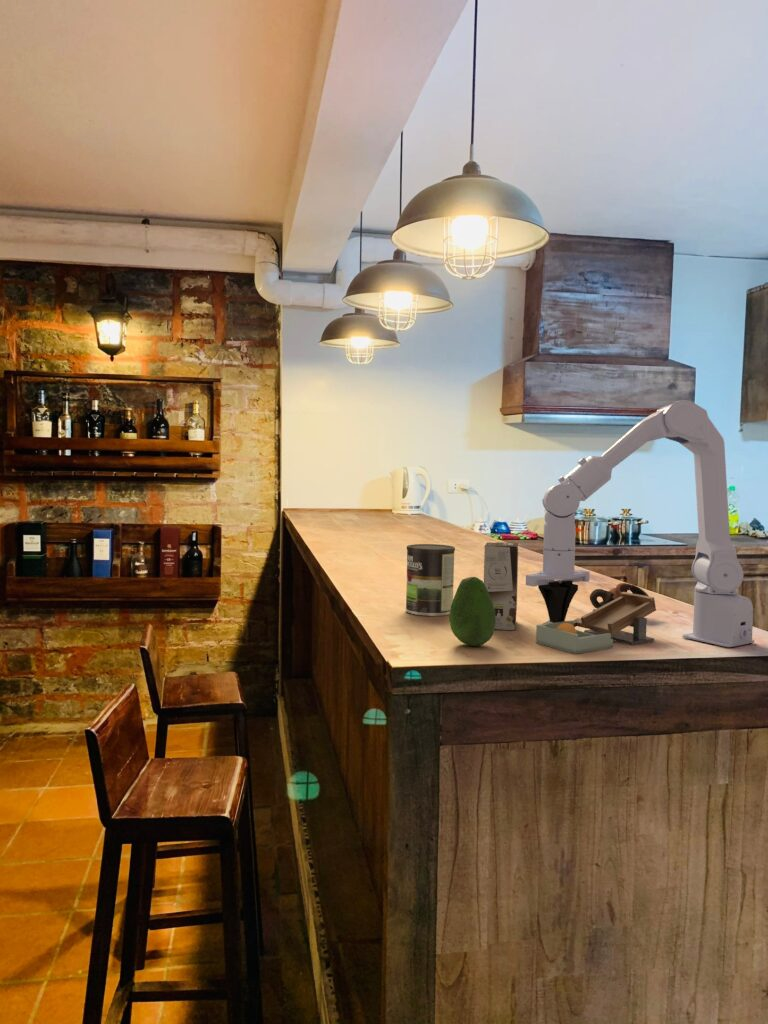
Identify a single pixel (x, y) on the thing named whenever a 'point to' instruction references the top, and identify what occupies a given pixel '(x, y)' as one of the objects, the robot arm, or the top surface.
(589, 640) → the dish
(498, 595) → the coffee box
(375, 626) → the top surface
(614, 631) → the lever
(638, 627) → the fulcrum
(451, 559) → the coffee can
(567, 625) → the ball
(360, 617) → the top surface
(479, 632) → the avocado
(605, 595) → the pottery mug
